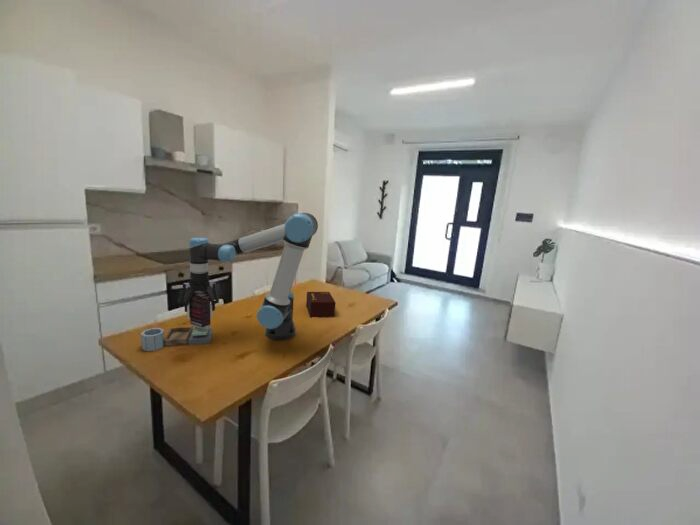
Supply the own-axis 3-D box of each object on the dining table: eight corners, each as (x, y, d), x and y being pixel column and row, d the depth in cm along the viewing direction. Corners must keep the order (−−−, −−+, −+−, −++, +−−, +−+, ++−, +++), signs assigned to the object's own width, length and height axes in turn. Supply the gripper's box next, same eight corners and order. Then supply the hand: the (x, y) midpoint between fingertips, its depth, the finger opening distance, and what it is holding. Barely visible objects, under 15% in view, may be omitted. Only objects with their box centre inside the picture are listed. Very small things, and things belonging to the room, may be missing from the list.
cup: (166, 341, 138) (165, 327, 137) (161, 350, 131) (160, 335, 129) (145, 343, 136) (144, 328, 134) (140, 351, 128) (139, 336, 127)
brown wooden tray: (192, 332, 150) (192, 326, 149) (188, 344, 137) (187, 338, 136) (171, 333, 146) (170, 327, 146) (164, 346, 134) (163, 340, 133)
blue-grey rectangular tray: (212, 332, 151) (212, 327, 150) (210, 343, 140) (209, 338, 139) (192, 333, 148) (192, 328, 147) (188, 344, 137) (188, 339, 136)
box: (336, 317, 183) (337, 301, 181) (310, 317, 179) (310, 302, 177) (330, 305, 203) (331, 291, 201) (306, 305, 199) (306, 291, 197)
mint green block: (209, 330, 149) (208, 324, 149) (206, 339, 140) (206, 332, 139) (195, 331, 147) (195, 324, 147) (192, 340, 138) (192, 333, 137)
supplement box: (211, 325, 143) (210, 294, 140) (202, 329, 139) (201, 296, 136) (198, 321, 147) (198, 290, 143) (189, 324, 142) (188, 292, 139)
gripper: (225, 269, 144) (225, 313, 149) (174, 269, 137) (176, 315, 142) (224, 273, 137) (224, 319, 142) (170, 273, 130) (172, 321, 135)
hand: (200, 317), depth 142 cm, fingers closed on supplement box, 9 cm apart
